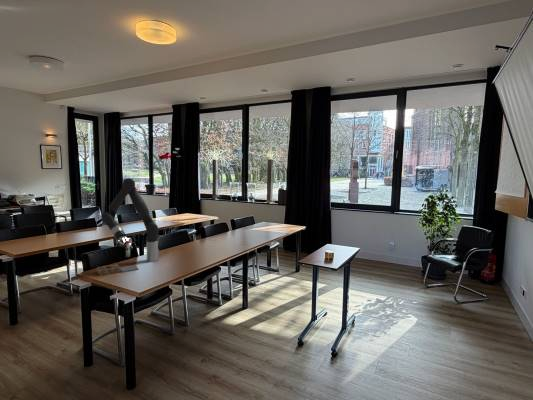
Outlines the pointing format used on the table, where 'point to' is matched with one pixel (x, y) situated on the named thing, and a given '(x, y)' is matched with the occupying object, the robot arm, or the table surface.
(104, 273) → the eye block
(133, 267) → the mat
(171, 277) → the table surface
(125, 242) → the wheel peg
